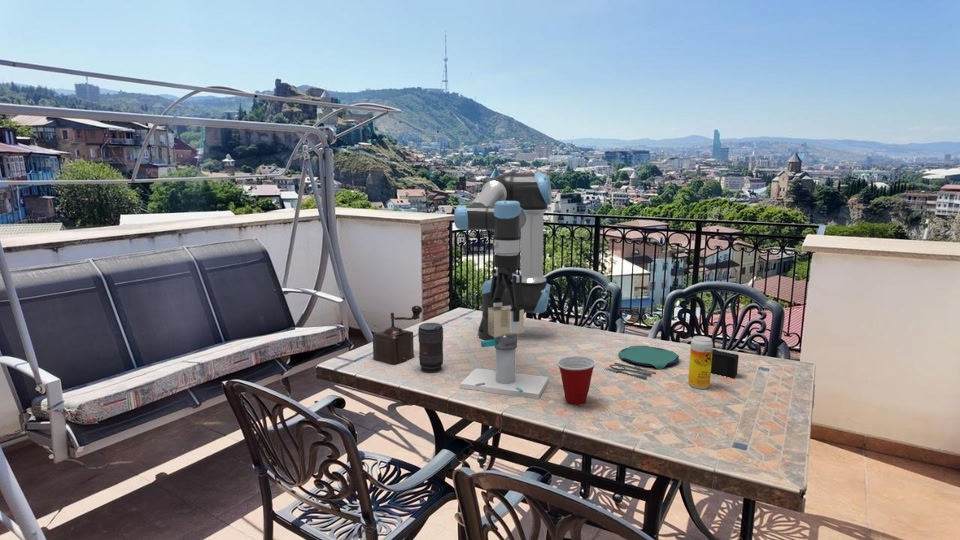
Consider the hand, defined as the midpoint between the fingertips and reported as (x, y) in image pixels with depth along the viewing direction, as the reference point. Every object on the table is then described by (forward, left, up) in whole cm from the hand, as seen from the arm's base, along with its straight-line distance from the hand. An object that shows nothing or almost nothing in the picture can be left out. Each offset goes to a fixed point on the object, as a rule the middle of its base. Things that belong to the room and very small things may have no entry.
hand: (505, 327), depth 157 cm
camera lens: (-5, -27, -18) cm, 33 cm away
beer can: (-19, +56, -18) cm, 62 cm away
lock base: (0, 0, -18) cm, 18 cm away
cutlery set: (-35, +39, -19) cm, 56 cm away
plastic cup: (+5, +22, -18) cm, 29 cm away
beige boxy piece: (+1, -1, -6) cm, 6 cm away
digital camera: (-34, +63, -18) cm, 74 cm away
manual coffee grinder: (-13, -43, -18) cm, 49 cm away
